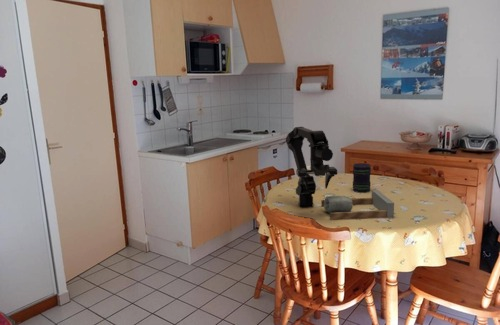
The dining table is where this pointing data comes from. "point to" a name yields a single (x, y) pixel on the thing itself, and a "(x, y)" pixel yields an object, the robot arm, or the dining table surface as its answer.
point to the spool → (338, 204)
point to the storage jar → (361, 177)
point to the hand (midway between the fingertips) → (316, 188)
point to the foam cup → (316, 178)
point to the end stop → (383, 203)
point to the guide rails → (358, 213)
